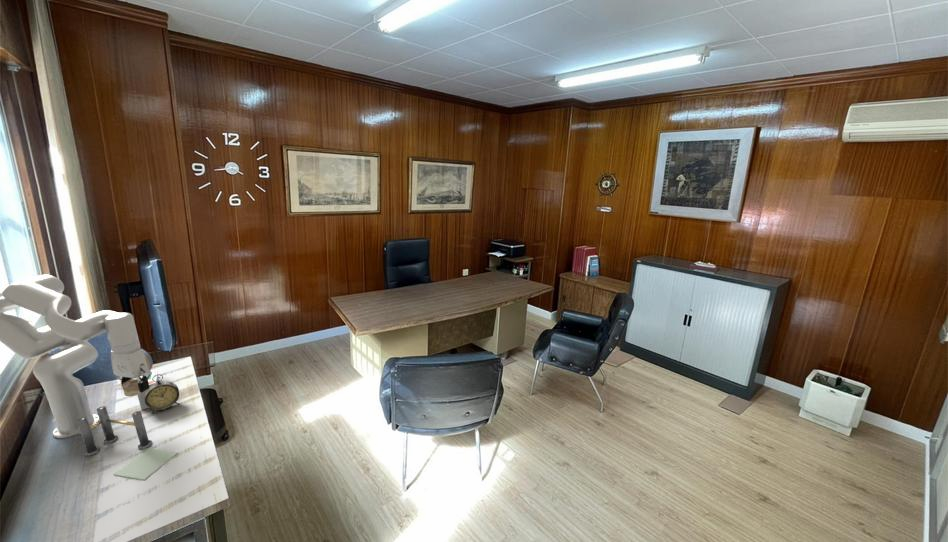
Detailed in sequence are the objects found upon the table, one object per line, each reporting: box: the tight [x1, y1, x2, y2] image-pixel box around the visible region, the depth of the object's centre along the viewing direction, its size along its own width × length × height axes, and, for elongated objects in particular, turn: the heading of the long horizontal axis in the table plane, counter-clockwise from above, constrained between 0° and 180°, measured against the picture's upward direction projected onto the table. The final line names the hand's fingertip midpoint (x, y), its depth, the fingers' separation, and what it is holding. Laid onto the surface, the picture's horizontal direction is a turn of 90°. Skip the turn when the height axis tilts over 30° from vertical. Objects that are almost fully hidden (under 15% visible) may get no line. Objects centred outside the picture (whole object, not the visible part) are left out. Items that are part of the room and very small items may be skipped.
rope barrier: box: [77, 405, 153, 457], centre depth 130 cm, size 19×10×14 cm, turn 81°
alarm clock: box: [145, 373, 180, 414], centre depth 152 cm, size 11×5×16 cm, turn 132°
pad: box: [113, 447, 179, 481], centre depth 126 cm, size 12×12×1 cm
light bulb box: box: [137, 371, 160, 410], centre depth 157 cm, size 11×7×11 cm, turn 37°
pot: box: [121, 376, 148, 397], centre depth 137 cm, size 6×6×4 cm
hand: (136, 388), depth 137 cm, fingers closed on pot, 6 cm apart
